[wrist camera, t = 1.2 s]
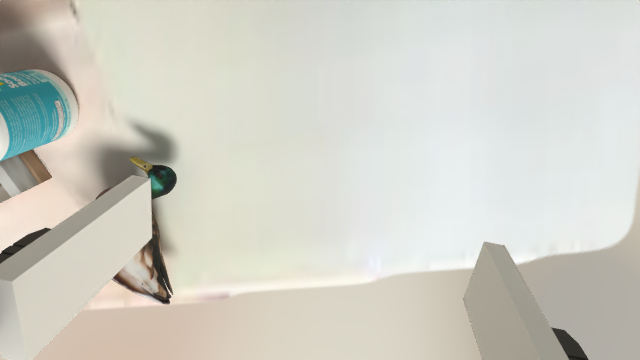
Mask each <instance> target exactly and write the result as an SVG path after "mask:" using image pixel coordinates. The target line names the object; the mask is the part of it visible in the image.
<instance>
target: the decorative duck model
mask: <svg viewBox="0 0 640 360" xmlns="http://www.w3.org/2000/svg"><path fill="white" fill-rule="evenodd" d="M130 161H131V162H132V163H134V164H135V165H137V166H138V167H140V168H141V169H143V170H144V171H145V172H146V174H147V175H148V178H151V200H152V199H155V198H158V197H160V196H163V195H166V194H168V193H169V192H170V191H171V190H172V189H173V188H174V186H175V184H176V181H177V178H176V174H175V172H174V171H173V170H172V169H171V168H169V167H167V166H163V165H152V164H148V163H146V162H144V161H143V160H141V159H139V158H137V157H131V158H130ZM112 188H114V187H112ZM112 188H109V189H106V190H105V191H103V192H102V193H100V194H99V195H98V197H97V198H99V197H100V196H102V195H103V194H105V193H106V192H108V191H109V190H111V189H112ZM97 198H96V199H97ZM163 278H164V280H165V282H164V280H163ZM112 280H113V281H114V282H116V283H118V284H120V285H121V286H123V287H125V288H126V289H128V290H130V291H132V292H134V293H136V294H138V295H140V296H142V297H145V298H147V299H149V300H152V301H154V302H157V303H162V304H170V301H169V298H171V295H170V294H169V292H168V290H167V288H166V285H167V287H168V289H169V290H170V292H171V293H172V295H173V292H172V288H171V285H170V282H169V278H168V274H167V271H166V267H165V263H164V259H163V256H162V253H161V246H160V236H159V229H158V225H157V222H156V220H155V218H154V216H153V215H152V238H151V239H150V240H149V241H148V242H147V243H146V244H145V245H144V246H143V247H142V249H141V250H140V251H139V252H138V253H137V254H136V255H135V256H134V257H133V258H132V259H131V260H130V261H129V262H128V263H127V264H126V265H125V266H124V267H123V268H122V269H121V270H120V271H119V272H118V273H117V274H116V275H115V276H114V277H113V278H112ZM165 283H166V285H165Z"/></svg>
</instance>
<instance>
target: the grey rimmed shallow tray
mask: <svg viewBox="0 0 640 360" xmlns="http://www.w3.org/2000/svg"><path fill="white" fill-rule="evenodd" d="M50 178H52V177H51V175H50V174H49V173H48V171H47V170H46V168H45V167H44V166H43V164H42V163H41V161H40V160H39V159H38V157H37V156H36V154H35V153H34V152H33V150H32V149H31V150H28V151H26V152H23V153H21V154H18V155H15V156H13V157H10V158H8V159H5V160H3V161H0V203H1V202H3V201H5V200H7V199H9V198H12V197H14V196H16V195H18V194H20V193H22V192H24V191H26V190H28V189H30V188H32V187H34V186H36V185H38V184H40V183H42V182H44V181H46V180H48V179H50Z"/></svg>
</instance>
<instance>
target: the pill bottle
mask: <svg viewBox="0 0 640 360" xmlns="http://www.w3.org/2000/svg"><path fill="white" fill-rule="evenodd" d="M78 116H79V110H78V104H77V101H76V98H75V96H74V94H73V92H72V91H71V89H70V88H69V86H68V85H67V84H66V83H65V82H64V81H63V80H62V79H60V78H59V77H58V76H56V75H55V74H53V73H50V72H48V71H45V70H40V69H29V70H22V71H16V72H9V73H2V74H0V161H3V160H5V159H8V158H10V157H13V156H15V155H18V154H21V153H23V152H26V151H28V150H31V149H34V148H36V147H39V146H41V145H44V144H47V143H49V142H52V141H55V140H57V139H60V138H62V137H65V136H66V135H68V134H69V133H70V132H71V131H72V130H73V129H74V128H75V126H76V124H77V121H78Z"/></svg>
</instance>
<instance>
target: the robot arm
mask: <svg viewBox="0 0 640 360" xmlns="http://www.w3.org/2000/svg"><path fill="white" fill-rule="evenodd" d="M151 238H152V210H151V178H146V177H140V176H135V175H131V176H130V177H128V178H127V179H125V180H124V181H122V182H121V183H119V184H118V185H116V186H115V187H114V188H112V189H111V190H109V191H108V192H106V193H105V194H103V195H102V196H100V197H99V198H97V199H96V200H94V201H93V202H91V203H90V204H88V205H87V206H85V207H84V208H82V209H81V210H79V211H78V212H76V213H75V214H73V215H72V216H70V217H69V218H67V219H66V220H64V221H63V222H61V223H60V224H59V225H57V226H56V227H54V228H53V229H49V228H44V229H42V230H39V231H36V232H34V233H31V234H28V235H26V236H25V237H23V238H22V239H20V240H19V241H17V242H15V243H14V244H13V246H9V247H8V248H6V249H5V250H3V251H2V253H1V254H0V353H1V357H2V358H4V359H9V360H32V359H33V358H34V357H35V356H36V355H37V354H38V353H39V352H40V351H41V350H42V349H43V348H44V347H45V346H46V345H47V344H48V343H49V342H50V341H51V340H52V339H53V338H54V337H55V336H56V335H57V334H58V333H59V332H60V331H61V330H62V329H63V328H64V327H65V326H66V325H67V324H68V323H69V322H70V321H71V320H72V319H73V318H74V317H75V316H76V315H77V314H78V313H79V312H80V311H81V310H82V309H83V308H84V307H85V305H86V304H87V303H88V302H89V301H90V300H91V299H92V298H93V297H94V296H95V295H96V294H97V293H98V292H99V291H100V290H101V289H102V288H103V287H104V286H105V285H106V284H107V283H108V282H109V281H110V280H111V279H112V278H113V277H114V276H115V275H116V274H117V273H118V272H119V271H120V270H121V269H122V268H123V267H124V266H125V265H126V264H127V263H128V262H129V261H130V260H131V259H132V258H133V257H134V256H135V255H136V254H137V253H138V252H139V251H140V250H141V249H142V247H143V246H144V245H145V244H146V243H147V242H148V241H149V240H150V239H151ZM463 300H464V304H465V307H466V310H467V313H468V316H469V319H470V323H471V326H472V329H473V332H474V335H475V339H476V342H477V345H478V348H479V351H480V354H481V357H482V360H588V358H587V356H586V355H585V353H584V351H583V350H582V348H581V347H580V345H579V344H578V343H577V342H576V341H575V340H574V339H573V338H572V337H571V336H570V335H569V334H568V333H567V332H566V331H564V330H561V329H556V328H551V327H550V325H549V323H548V321H547V320H546V318H545V316H544V314H543V313H542V311H541V309H540V307H539V306H538V304H537V302H536V300H535V298H534V297H533V295H532V293H531V292H530V290H529V288H528V286H527V284H526V283H525V281H524V279H523V277H522V276H521V274H520V272H519V270H518V268H517V267H516V265H515V263H514V261H513V260H512V258H511V256H510V254H509V252H508V251H507V249H506V247H505V246H504V245H499V244H494V243H488V242H484V244H483V246H482V249H481V252H480V254H479V257H478V260H477V263H476V265H475V268H474V271H473V274H472V277H471V279H470V282H469V285H468V287H467V290H466V293H465V295H464V298H463Z"/></svg>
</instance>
